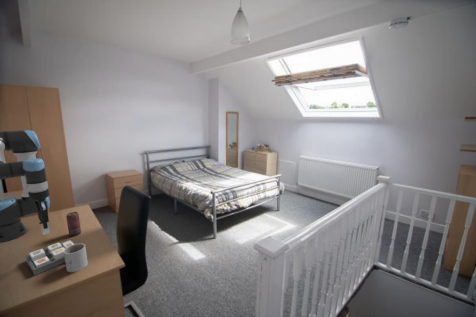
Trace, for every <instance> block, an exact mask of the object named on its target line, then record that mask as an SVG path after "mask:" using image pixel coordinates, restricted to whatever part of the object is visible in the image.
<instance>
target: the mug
mask: <svg viewBox="0 0 476 317" xmlns="http://www.w3.org/2000/svg"><path fill="white" fill-rule="evenodd" d="M64 257H65V263H64V264H65V267H66V272H68V273H77V272H79V271H81V270H83V269H85V268H86V267H87V266H88V264H89V263H88V255H87V249H86V244H84V243H76V244H74V245H71V246H69V247H67V248H66V249H65V250H64Z"/></svg>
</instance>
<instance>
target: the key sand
mask: <svg viewBox="0 0 476 317" xmlns="http://www.w3.org/2000/svg"><path fill="white" fill-rule="evenodd" d="M64 250H65V248H64V247H62V248H59V249H57V250H54V251H52V256H53V258H54V259H55V260H57V259H59V258H62V257H64Z"/></svg>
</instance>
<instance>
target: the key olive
mask: <svg viewBox="0 0 476 317" xmlns="http://www.w3.org/2000/svg"><path fill="white" fill-rule="evenodd" d="M60 243H61V242H56V243H53V244H51V245H48V246H47V248H48V251H49V253H50V254H51V255H52V251H54V250H57V249H59V248H62V245H61V244H60Z"/></svg>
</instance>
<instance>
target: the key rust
mask: <svg viewBox="0 0 476 317" xmlns="http://www.w3.org/2000/svg"><path fill="white" fill-rule="evenodd" d="M47 263H50V260H49V259H48V257H47V256H46V257H44V258H41V259H39V260H36V261H34V266H35V268H38V267H40V266H43V265H45V264H47Z"/></svg>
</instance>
